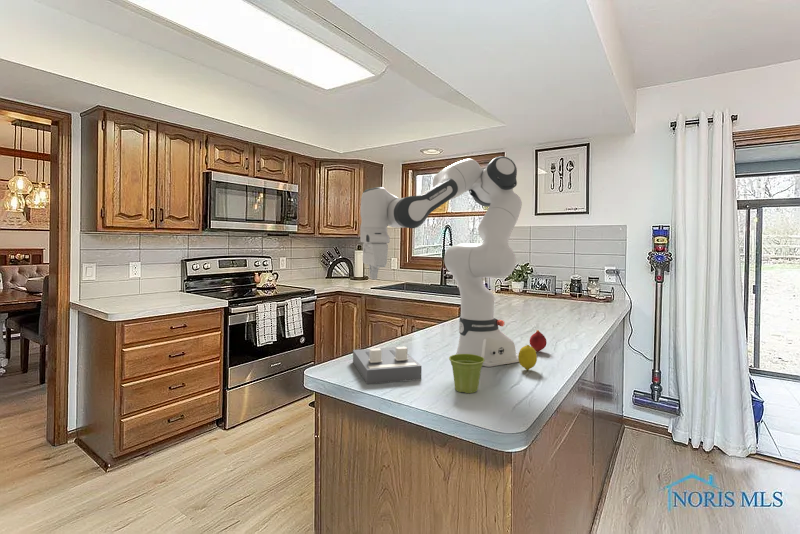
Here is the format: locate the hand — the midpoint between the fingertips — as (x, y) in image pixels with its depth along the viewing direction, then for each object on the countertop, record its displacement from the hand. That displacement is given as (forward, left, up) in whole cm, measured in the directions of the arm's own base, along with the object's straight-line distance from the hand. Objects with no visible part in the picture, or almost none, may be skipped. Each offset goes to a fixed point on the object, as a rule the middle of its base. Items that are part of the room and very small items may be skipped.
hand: (373, 279), depth 142 cm
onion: (-60, +5, -27) cm, 66 cm away
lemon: (-44, +23, -27) cm, 57 cm away
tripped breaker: (+3, +16, -23) cm, 28 cm away
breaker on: (-5, +16, -23) cm, 28 cm away
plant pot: (-18, +34, -27) cm, 47 cm away
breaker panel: (-1, +12, -27) cm, 30 cm away
